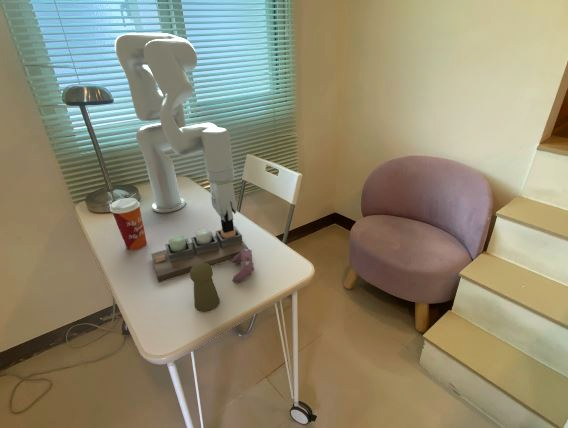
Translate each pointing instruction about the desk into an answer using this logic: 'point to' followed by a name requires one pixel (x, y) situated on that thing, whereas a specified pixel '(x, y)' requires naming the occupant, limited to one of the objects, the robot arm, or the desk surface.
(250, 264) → the video game controller
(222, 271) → the desk surface
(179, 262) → the board
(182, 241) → the pale green egg
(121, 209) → the coffee cup
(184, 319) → the desk surface
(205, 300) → the olive green skittle
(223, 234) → the brown egg
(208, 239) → the white egg
